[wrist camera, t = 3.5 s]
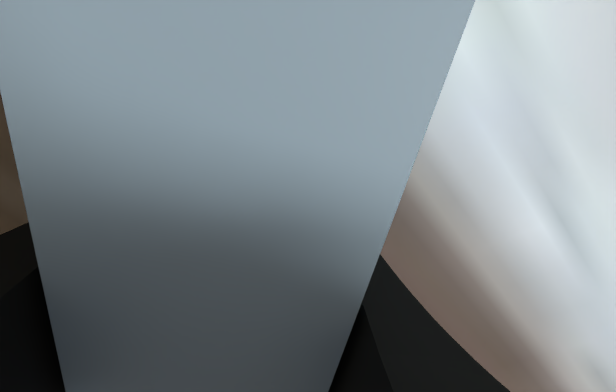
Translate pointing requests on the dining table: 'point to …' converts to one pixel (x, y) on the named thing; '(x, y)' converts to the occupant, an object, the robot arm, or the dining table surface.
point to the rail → (215, 176)
